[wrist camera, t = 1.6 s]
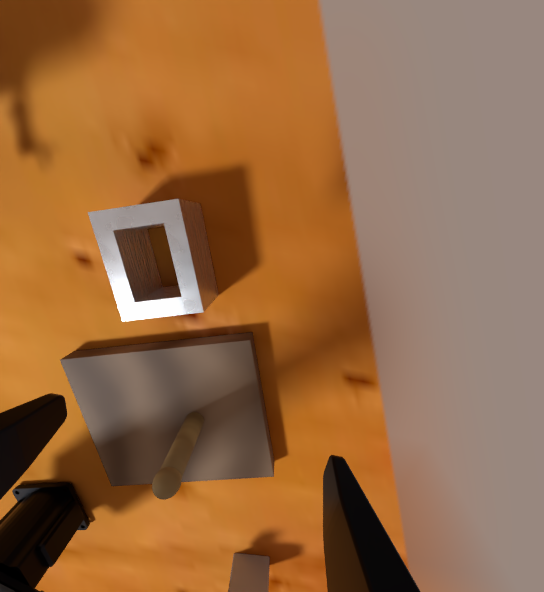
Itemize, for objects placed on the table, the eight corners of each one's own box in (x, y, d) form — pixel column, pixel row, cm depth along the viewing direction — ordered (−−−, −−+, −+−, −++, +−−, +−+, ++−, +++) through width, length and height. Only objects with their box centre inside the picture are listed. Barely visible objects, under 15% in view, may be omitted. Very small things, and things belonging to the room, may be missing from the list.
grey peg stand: (121, 471, 26) (55, 573, 19) (74, 350, 22) (-33, 417, 15) (274, 461, 25) (270, 566, 17) (252, 332, 21) (234, 393, 14)
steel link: (152, 302, 21) (122, 321, 17) (127, 214, 19) (87, 212, 15) (218, 295, 20) (203, 312, 16) (200, 203, 18) (178, 198, 15)
